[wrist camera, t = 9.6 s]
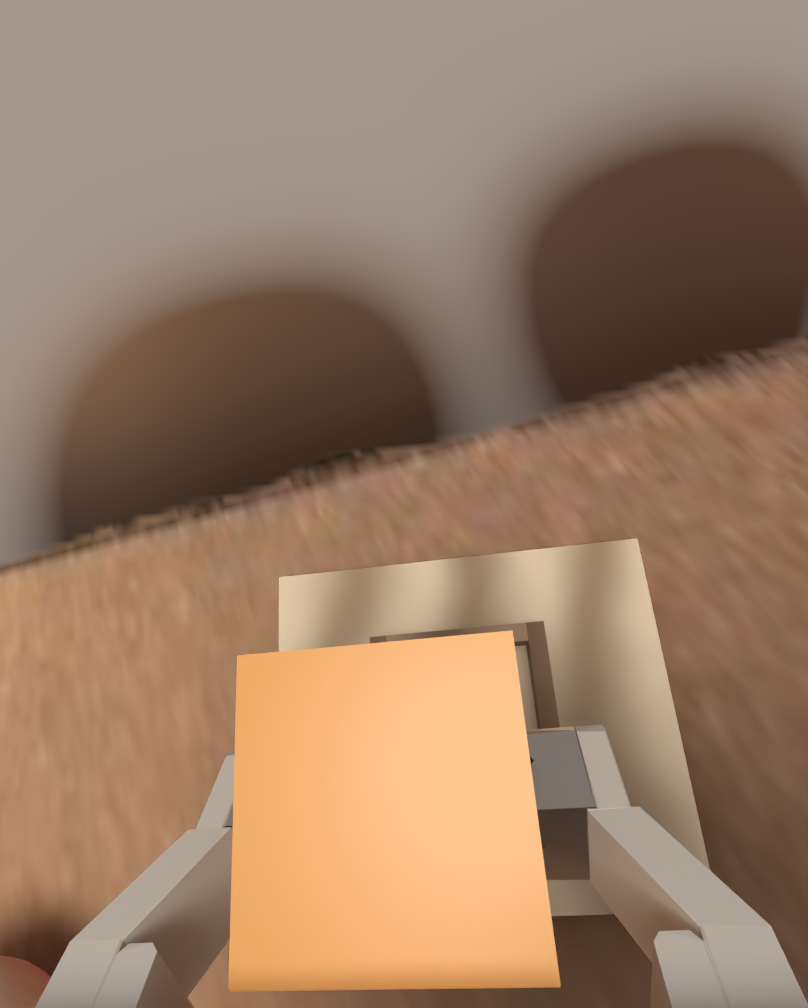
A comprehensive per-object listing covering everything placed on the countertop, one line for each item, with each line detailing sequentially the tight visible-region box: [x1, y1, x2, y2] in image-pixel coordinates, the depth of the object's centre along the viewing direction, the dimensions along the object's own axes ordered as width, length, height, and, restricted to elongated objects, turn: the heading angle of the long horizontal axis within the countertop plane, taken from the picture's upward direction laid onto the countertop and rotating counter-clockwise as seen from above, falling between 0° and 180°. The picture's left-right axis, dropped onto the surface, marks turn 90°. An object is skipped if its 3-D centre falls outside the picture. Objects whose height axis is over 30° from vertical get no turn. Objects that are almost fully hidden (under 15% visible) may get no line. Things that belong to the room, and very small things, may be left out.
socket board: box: [279, 539, 710, 916], centre depth 26 cm, size 19×16×4 cm
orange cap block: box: [228, 630, 561, 992], centre depth 11 cm, size 4×4×8 cm
